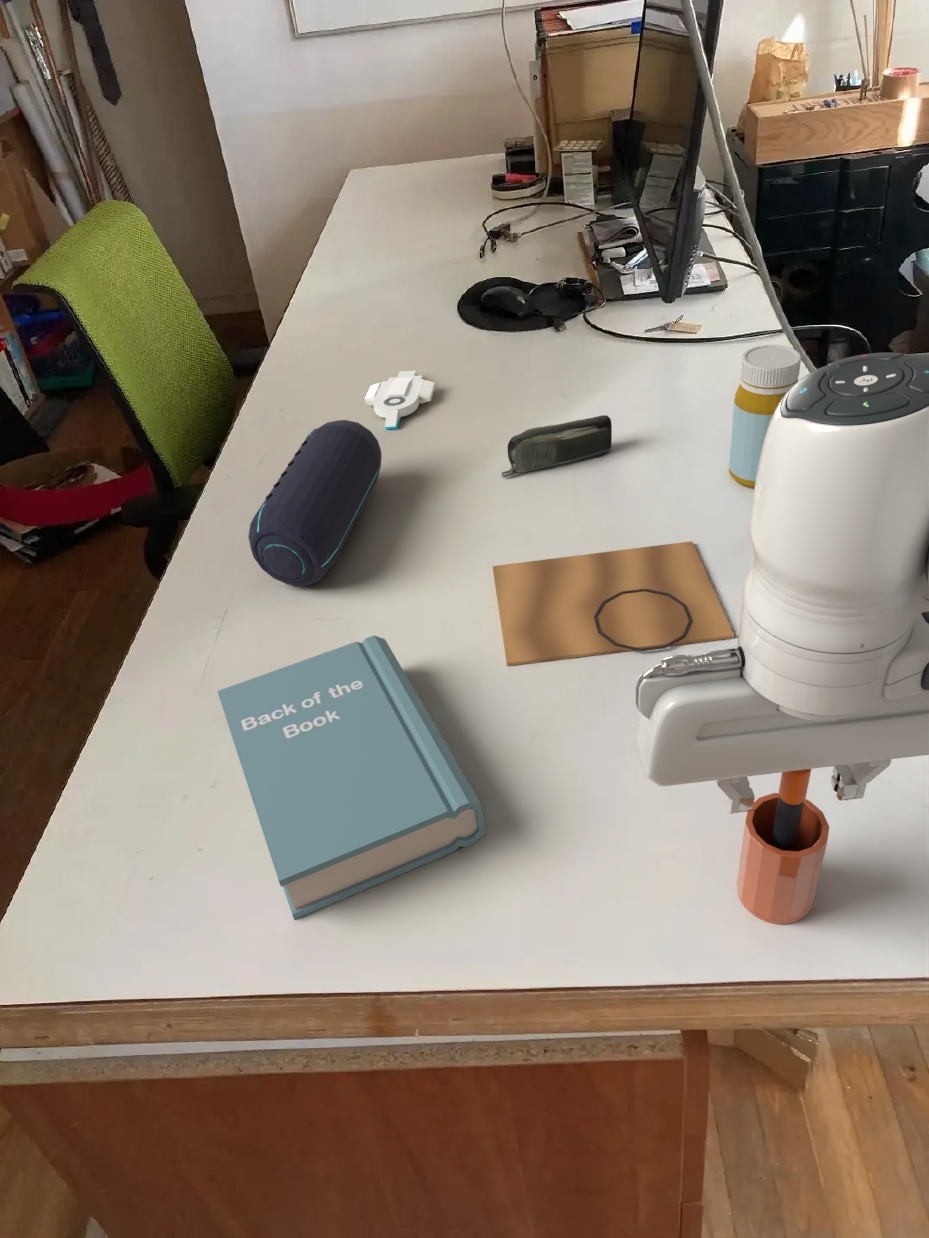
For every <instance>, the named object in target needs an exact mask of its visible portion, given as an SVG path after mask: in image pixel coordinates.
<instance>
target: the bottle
mask: <svg viewBox="0 0 929 1238" xmlns="http://www.w3.org/2000/svg"><path fill="white" fill-rule="evenodd" d="M801 362H802V355H801V354H800V352H799V351H798V350H796V349H795V348H792V347H791V346H786V345H780V344H763V345H762V344H761V345H757V346H754V347H751V348H749V349H747V350H746V351H744V352H743V354H742V356H741V362H740V363H741V364H740V381H739V385H738V387H737V389H736V391H735V393H734V400H733V412H732V424H731V425H732V426H731V435H730V436H731V438H730V449H729V463H728V472H729V475H730V476H731V478H733V480H734V481H735V482H736V483H738V484H740V485H741V486H743V487H747V488H750V489H755V483H756V477H757V471H758V466H759V461H760V456H761V452H762V448H763V444H764V440H765V436H766V433H767V430H768V426H769V424H770V421H771V419H772V416H773V414H774V412H775V410H776V408H777V406H778V405H779V403H780V402H781V400H782V398H783V397H784V395H785V394H786V393H787V392H788V390H789V389H790V388H791V387H792V386H793V385H795V384H796V383H797V382H798V381H799V376H800V371H801Z"/></svg>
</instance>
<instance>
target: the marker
mask: <svg viewBox="0 0 929 1238" xmlns="http://www.w3.org/2000/svg"><path fill="white" fill-rule="evenodd" d="M811 772H812V769H805V770H797V771H789V772H781V775H780V780H779V781H780V782H779V788H778V793H779V798H778V804H777V810H776V816H775V823H774V829H773V835H772V841H771V846H773V847H776V848H778V849H780V850H784V851H795V847H796V842H797V837H798V831H799V826H800V821H801V816H802V811H803V805H804V801H805V799H807V795H808V794H807V793H808V790H809V783H810V779H811V778H810V777H811Z"/></svg>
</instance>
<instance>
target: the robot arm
mask: <svg viewBox="0 0 929 1238" xmlns="http://www.w3.org/2000/svg"><path fill="white" fill-rule="evenodd" d="M753 489H754V490H753V497H752V506H751V514H750V523H749V536H750V543H751V547H752V549H753V553H754V556H753V557H754V558H753V563H752V565H751V567H750V569H749V571H748V573H747V576H746V578H745V581H744V584H743V590H742V601H741V611H740V620H739V629H738V638H737V647H734V648H733V647H732V648H725V649H717V650H710V651H707V652H703V653H698V654H693V655H691V654H689V655H685V654H676V655H672V656H666V657H664V658H662V659H661V662H660V664H657V665H653V666H652V667H650V668H649V669H647V670H646V671H644V672H642V673H640V674H639V676H638V677H637V680H636V685H635V706H636V708H637V711H639V715H638V720H637V727H636V747H637V752H638V756H639V761H640V764H641V767H642V770H643V773H644V775H645V777H646V778H648V779H649V780H650V781H651V782H652V783H654V784H655V785H657V786H659V787H672V786H680V785H688V784H696V783H705V782H714V781H715V782H716V786H717V787H718V788H719V789H720V790H721V791H722V793H723V799H724V803H725V806H726V809H727V812H728V814H730V815H734V814H739V813H740V814H741V813H747V812H748V811H753V806H752V804H754V802H755V798H756V796H755V793H754V792H753V788H752V787H751V786H750V785H751V784H750V780H749V779H748V777H755V776H763V775H772V774H781V773H782V772H789V771H797V770H805V769H811V770H813V769H814V770H815V769H821V768H822V769H823V768H830V767H833V768H832V776H831V779H830V785H831V787H832V789H833V791H834V792H836V795H835V796H836V798H837V800H838V801H839V802H840V801H850V800H859V799H860V800H861V799H863V798H864V796H865V792H866V788H867V784H869V783H871V782H872V781H873V780H874V779H875V778H877V777H878V776H879V775H880V774H881V773H883V772H884V771H885V770H886V769H887V768H889V767H890V766H891V762H892V760H896V759H904V758H905V759H907V758H914V757H921V756H929V357H926V356H921V355H916V354H911V353H901V352H873V353H871V352H870V353H864V354H858V355H853V356H849V357H845V358H842V359H838V360H834V361H832V362H830V363H828V364H826V365H824V366H821V367H819V368H817V369H815V370H813V371H810V372H809V373H808V374H806V375H805V376H802V378H800V379H798V382H797V383H796V384H795V385H793V386H792V387H791V388H790V389H789V390H788V392H787V393H786V394H785V395H784V397H783V398H782V400H781V402H780V403H779V405H778V406H777V408H776V410H775V412H774V414H773V416H772V419H771V421H770V424H769V426H768V430H767V433H766V436H765V440H764V444H763V448H762V452H761V456H760V461H759V466H758V471H757V477H756V483H755V488H753Z"/></svg>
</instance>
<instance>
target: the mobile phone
mask: <svg viewBox="0 0 929 1238" xmlns="http://www.w3.org/2000/svg"><path fill="white" fill-rule="evenodd" d="M612 433H613V429H612V419H611V418H610V417H609V416H608V415H607V414H605V415H598V416H594V417H589V418H588V417H587V418H583V419H576V420H572V421H567V422H562V423H558V424H557V423H556V424H550V425H544V426H535V427H532V428H529V429H526V430H524V431H523V432H521V433H518V434H516V435H514V436H512V437H511V438H510V440H509V441H508V444H507V458H508V461H509V463H510V465H511V466H510V469H509V470H506V471H503V472H501V476H502V478H507V477H510V476H514V475H519V474H522V473H526V472H531V471H536V470H540V469H545V468H550V467H554V466H558V465H562V464H569V463H573V462H579V461H583V460H587V459H591V458H596V457H601V456H603V455H605V454H608V453H609V452H610V451H611V449H612V441H613V440H612V439H613V436H612Z"/></svg>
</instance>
